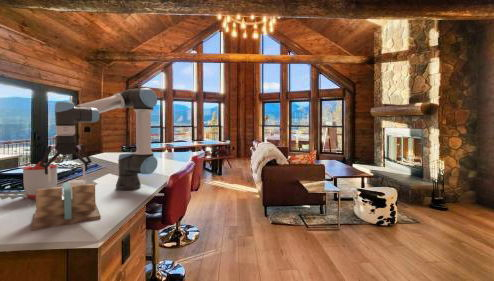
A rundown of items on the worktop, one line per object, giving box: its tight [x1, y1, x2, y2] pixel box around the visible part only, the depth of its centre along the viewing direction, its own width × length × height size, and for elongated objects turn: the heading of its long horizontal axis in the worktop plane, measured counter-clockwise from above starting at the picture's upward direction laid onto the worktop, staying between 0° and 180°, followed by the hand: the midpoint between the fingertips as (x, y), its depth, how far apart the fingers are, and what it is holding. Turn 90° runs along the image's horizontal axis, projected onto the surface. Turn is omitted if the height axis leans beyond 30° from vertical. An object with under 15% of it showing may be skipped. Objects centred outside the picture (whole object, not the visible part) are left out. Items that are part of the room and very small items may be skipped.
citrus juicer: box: [22, 161, 58, 200], centre depth 149 cm, size 16×17×20 cm
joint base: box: [30, 183, 102, 231], centre depth 119 cm, size 24×24×14 cm
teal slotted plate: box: [63, 181, 72, 220], centre depth 119 cm, size 2×20×12 cm, turn 35°
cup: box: [60, 179, 87, 199], centre depth 144 cm, size 8×12×10 cm
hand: (67, 179), depth 124 cm, fingers open, 13 cm apart
